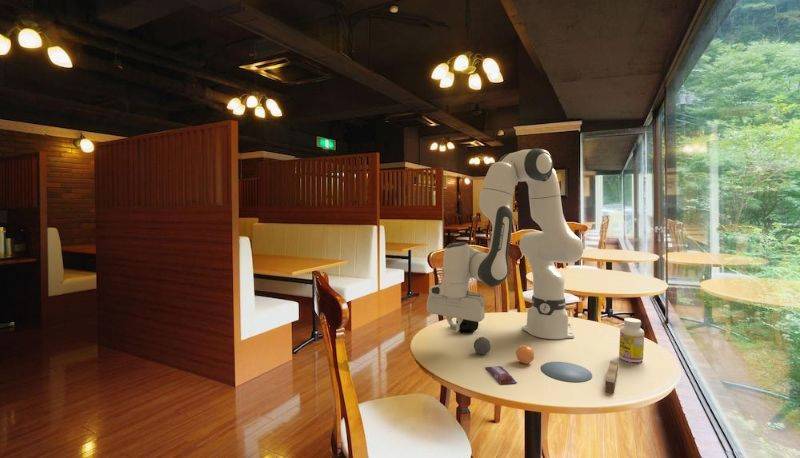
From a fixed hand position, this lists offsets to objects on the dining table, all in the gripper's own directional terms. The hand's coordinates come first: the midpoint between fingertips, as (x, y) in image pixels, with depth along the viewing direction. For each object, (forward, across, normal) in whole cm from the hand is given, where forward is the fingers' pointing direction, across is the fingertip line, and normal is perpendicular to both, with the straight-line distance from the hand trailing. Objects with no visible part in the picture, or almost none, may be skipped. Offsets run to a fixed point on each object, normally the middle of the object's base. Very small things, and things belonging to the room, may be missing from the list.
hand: (454, 329), depth 135 cm
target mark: (+6, -36, -1) cm, 36 cm away
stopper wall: (+6, -48, -1) cm, 48 cm away
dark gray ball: (+4, -10, -1) cm, 10 cm away
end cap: (+7, +4, -22) cm, 23 cm away
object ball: (+4, -24, -1) cm, 24 cm away
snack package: (+8, -20, +12) cm, 25 cm away
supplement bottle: (+6, -52, -22) cm, 57 cm away
